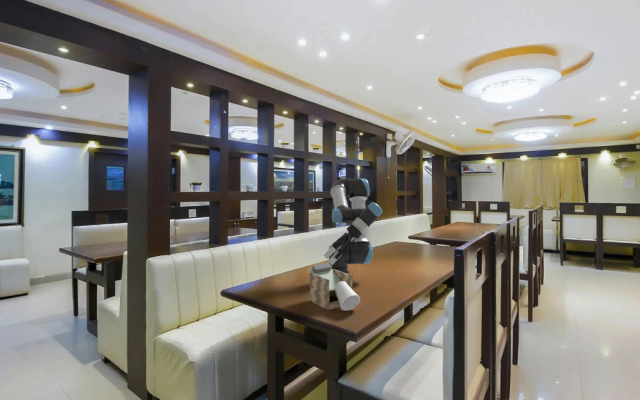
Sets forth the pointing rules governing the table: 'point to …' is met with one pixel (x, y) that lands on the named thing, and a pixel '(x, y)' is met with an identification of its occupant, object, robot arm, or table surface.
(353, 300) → the cup
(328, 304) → the stand
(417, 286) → the table surface
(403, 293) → the table surface
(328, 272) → the flap
